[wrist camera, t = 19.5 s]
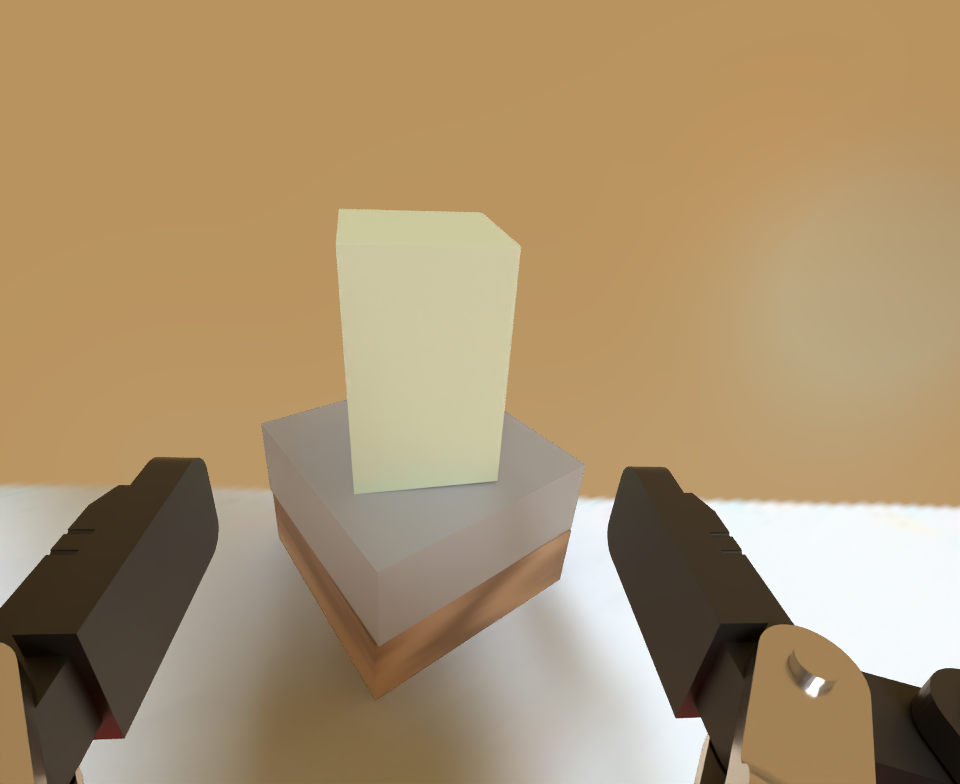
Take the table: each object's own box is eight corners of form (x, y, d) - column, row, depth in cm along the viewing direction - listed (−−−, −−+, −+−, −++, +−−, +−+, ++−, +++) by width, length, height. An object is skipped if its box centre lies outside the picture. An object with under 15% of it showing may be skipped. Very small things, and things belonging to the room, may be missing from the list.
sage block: (354, 494, 21) (335, 244, 16) (353, 416, 26) (339, 208, 21) (497, 481, 22) (521, 246, 17) (469, 409, 27) (481, 212, 22)
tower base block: (375, 706, 21) (374, 645, 19) (280, 542, 29) (272, 486, 27) (558, 585, 28) (570, 530, 26) (442, 476, 35) (445, 427, 33)
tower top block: (378, 646, 19) (377, 572, 17) (270, 488, 26) (261, 423, 25) (570, 528, 26) (585, 464, 24) (442, 427, 33) (446, 371, 31)
